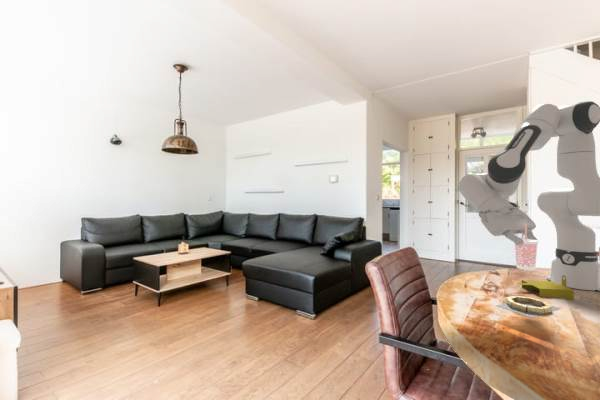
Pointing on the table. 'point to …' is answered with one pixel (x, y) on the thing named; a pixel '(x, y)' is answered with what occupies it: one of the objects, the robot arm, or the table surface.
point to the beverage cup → (526, 253)
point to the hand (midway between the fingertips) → (528, 243)
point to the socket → (543, 309)
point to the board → (523, 311)
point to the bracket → (549, 288)
